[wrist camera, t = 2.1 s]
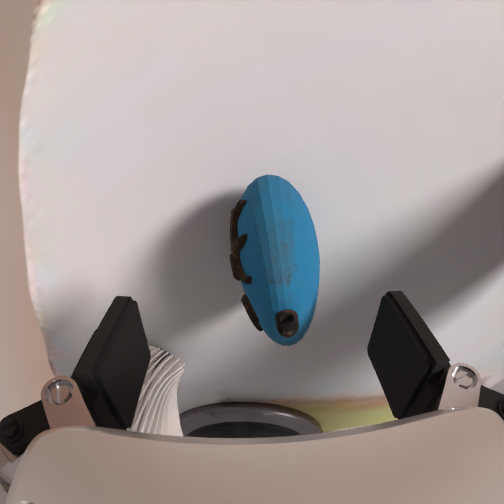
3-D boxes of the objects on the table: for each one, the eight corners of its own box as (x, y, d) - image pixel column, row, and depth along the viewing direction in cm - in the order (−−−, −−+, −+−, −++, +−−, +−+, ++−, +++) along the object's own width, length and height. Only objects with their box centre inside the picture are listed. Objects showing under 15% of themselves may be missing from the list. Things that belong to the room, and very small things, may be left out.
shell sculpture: (109, 367, 26) (51, 526, 10) (127, 314, 23) (41, 522, 6) (183, 400, 28) (157, 562, 11) (217, 355, 24) (195, 568, 8)
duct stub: (336, 398, 27) (357, 496, 17) (310, 465, 36) (316, 530, 26) (153, 396, 28) (128, 491, 17) (184, 464, 36) (175, 527, 26)
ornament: (223, 169, 18) (191, 235, 9) (300, 158, 17) (350, 213, 8) (245, 286, 21) (240, 405, 12) (310, 277, 21) (343, 392, 12)
